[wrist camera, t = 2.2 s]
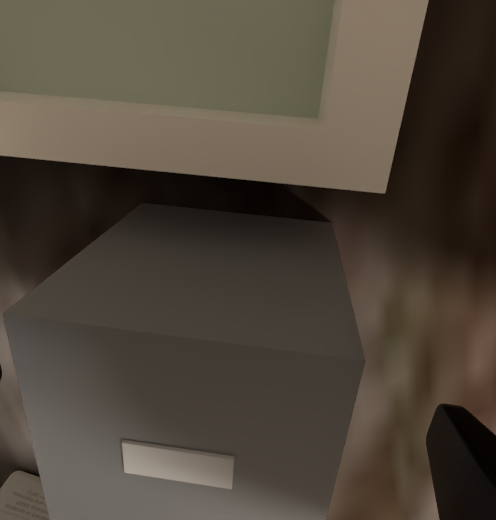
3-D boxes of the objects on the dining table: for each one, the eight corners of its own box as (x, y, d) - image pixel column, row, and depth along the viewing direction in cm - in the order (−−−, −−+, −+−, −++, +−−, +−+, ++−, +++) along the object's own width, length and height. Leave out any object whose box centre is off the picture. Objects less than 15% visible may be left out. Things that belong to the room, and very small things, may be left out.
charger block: (331, 222, 10) (366, 364, 5) (305, 374, 12) (311, 579, 7) (142, 202, 10) (-1, 315, 5) (149, 353, 13) (51, 535, 8)
